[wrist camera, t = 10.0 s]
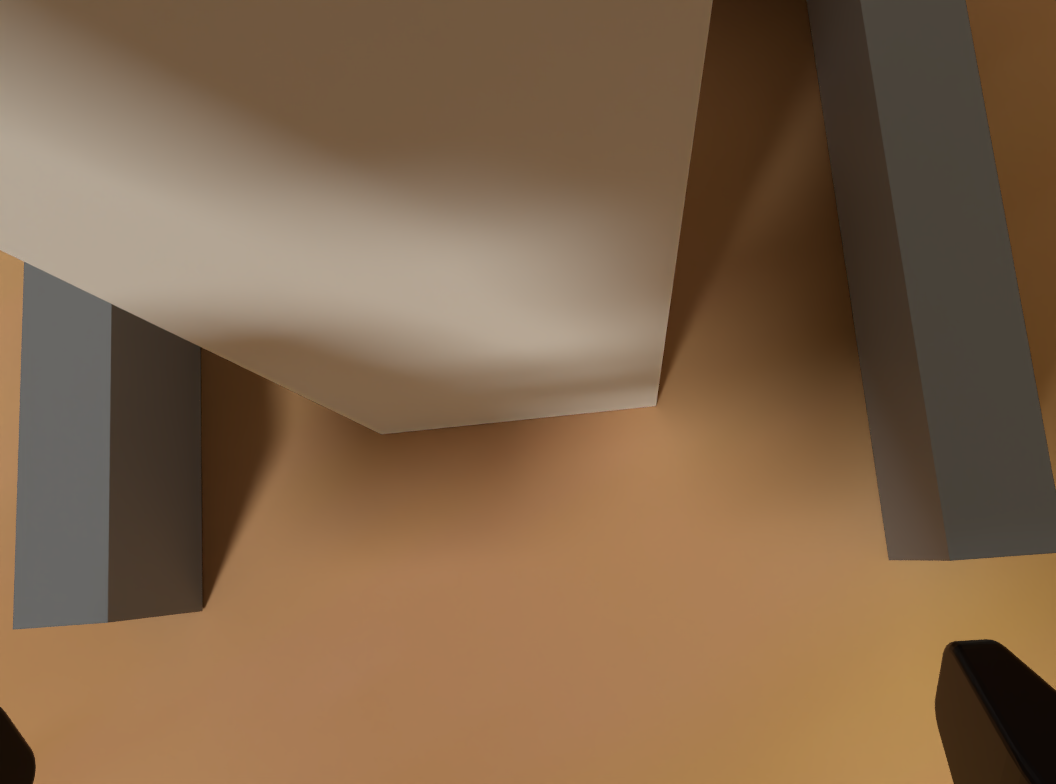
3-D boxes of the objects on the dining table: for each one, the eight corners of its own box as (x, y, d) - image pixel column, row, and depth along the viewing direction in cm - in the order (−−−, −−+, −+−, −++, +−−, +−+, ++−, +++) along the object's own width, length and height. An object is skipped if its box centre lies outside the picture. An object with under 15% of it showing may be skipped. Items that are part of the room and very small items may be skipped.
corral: (982, 552, 15) (1066, 551, 12) (123, 616, 16) (12, 629, 14) (871, -111, 17) (919, -246, 14) (129, -2, 19) (35, -104, 16)
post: (656, 406, 16) (737, -161, 3) (381, 434, 17) (-453, 32, 4) (626, 144, 17) (599, -1070, 4) (367, 178, 18) (-342, -826, 5)
